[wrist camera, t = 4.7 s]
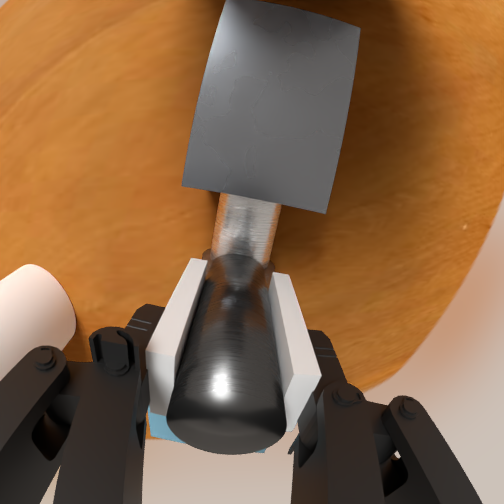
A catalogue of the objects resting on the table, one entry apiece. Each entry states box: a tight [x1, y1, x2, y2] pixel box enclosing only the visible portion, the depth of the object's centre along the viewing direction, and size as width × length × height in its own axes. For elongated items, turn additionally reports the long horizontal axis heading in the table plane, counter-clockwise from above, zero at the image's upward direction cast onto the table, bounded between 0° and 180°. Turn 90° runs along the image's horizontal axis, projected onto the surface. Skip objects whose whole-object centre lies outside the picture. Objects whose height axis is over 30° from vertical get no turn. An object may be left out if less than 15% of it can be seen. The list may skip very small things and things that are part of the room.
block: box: [182, 0, 361, 214], centre depth 12 cm, size 9×6×6 cm, turn 169°
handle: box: [166, 193, 287, 455], centre depth 10 cm, size 17×4×12 cm, turn 169°
